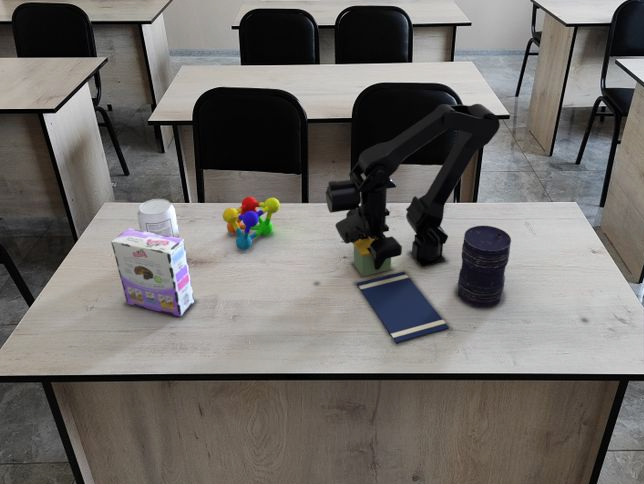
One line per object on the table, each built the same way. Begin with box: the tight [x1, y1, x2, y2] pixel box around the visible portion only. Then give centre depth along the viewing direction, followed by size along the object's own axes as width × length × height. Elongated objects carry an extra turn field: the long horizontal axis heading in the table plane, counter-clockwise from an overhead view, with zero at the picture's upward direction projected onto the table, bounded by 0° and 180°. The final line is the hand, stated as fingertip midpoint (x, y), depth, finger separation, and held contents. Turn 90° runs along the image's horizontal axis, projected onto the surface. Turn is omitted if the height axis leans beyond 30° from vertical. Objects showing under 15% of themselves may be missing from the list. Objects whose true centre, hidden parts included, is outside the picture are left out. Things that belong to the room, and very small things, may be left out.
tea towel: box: [356, 271, 450, 344], centre depth 130 cm, size 12×21×1 cm, turn 22°
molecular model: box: [222, 196, 281, 251], centre depth 148 cm, size 15×12×15 cm
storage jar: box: [457, 225, 512, 309], centre depth 130 cm, size 10×10×15 cm
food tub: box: [352, 238, 392, 277], centre depth 141 cm, size 8×6×6 cm
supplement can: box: [137, 198, 181, 239], centre depth 141 cm, size 8×8×15 cm
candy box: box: [110, 228, 195, 317], centre depth 127 cm, size 14×6×16 cm, turn 71°
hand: (372, 262), depth 142 cm, fingers closed on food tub, 5 cm apart
